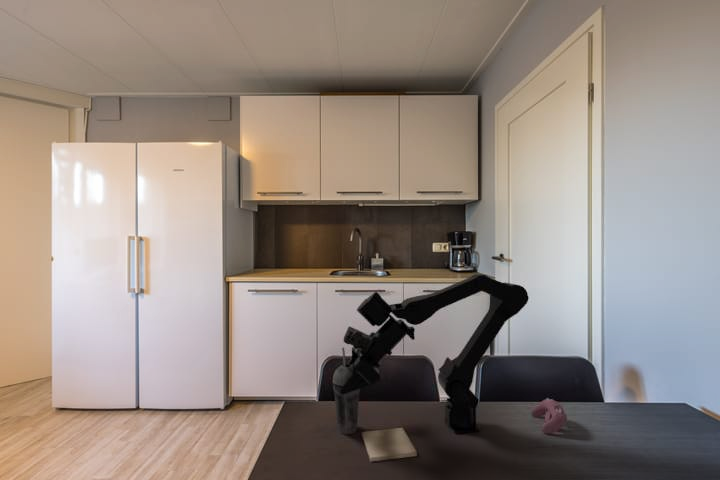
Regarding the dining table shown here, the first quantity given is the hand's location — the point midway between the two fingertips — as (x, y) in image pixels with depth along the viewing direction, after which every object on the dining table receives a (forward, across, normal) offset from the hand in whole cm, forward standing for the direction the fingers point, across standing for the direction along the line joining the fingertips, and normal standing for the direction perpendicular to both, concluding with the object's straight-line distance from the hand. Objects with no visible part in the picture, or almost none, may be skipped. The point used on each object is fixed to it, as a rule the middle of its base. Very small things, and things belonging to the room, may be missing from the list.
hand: (341, 385), depth 83 cm
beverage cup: (+7, 0, +9) cm, 11 cm away
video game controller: (-29, +1, +44) cm, 52 cm away
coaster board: (0, +7, +15) cm, 17 cm away
